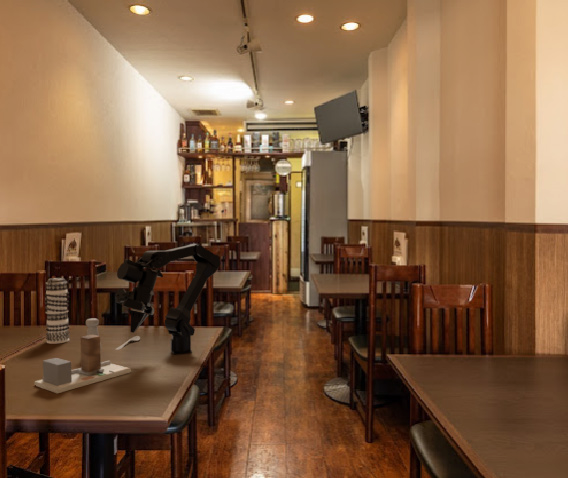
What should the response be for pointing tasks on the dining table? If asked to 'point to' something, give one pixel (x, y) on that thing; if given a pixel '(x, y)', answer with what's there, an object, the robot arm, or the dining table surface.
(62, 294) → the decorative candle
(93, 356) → the gauge slider
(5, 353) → the dining table surface
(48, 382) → the gauge board
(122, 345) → the spoon
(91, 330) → the salt shaker
